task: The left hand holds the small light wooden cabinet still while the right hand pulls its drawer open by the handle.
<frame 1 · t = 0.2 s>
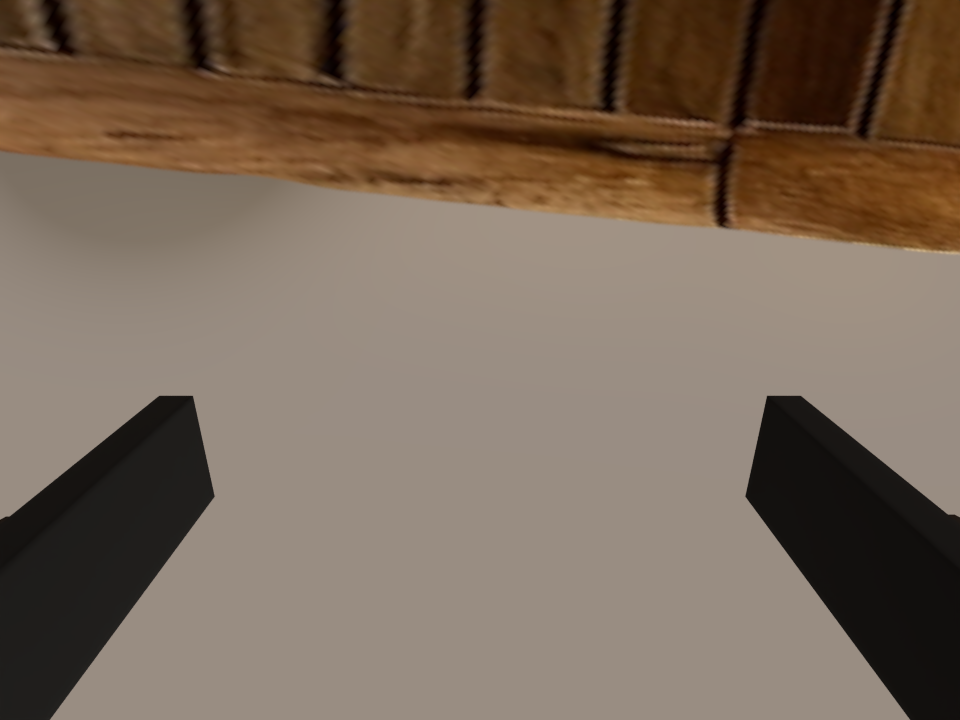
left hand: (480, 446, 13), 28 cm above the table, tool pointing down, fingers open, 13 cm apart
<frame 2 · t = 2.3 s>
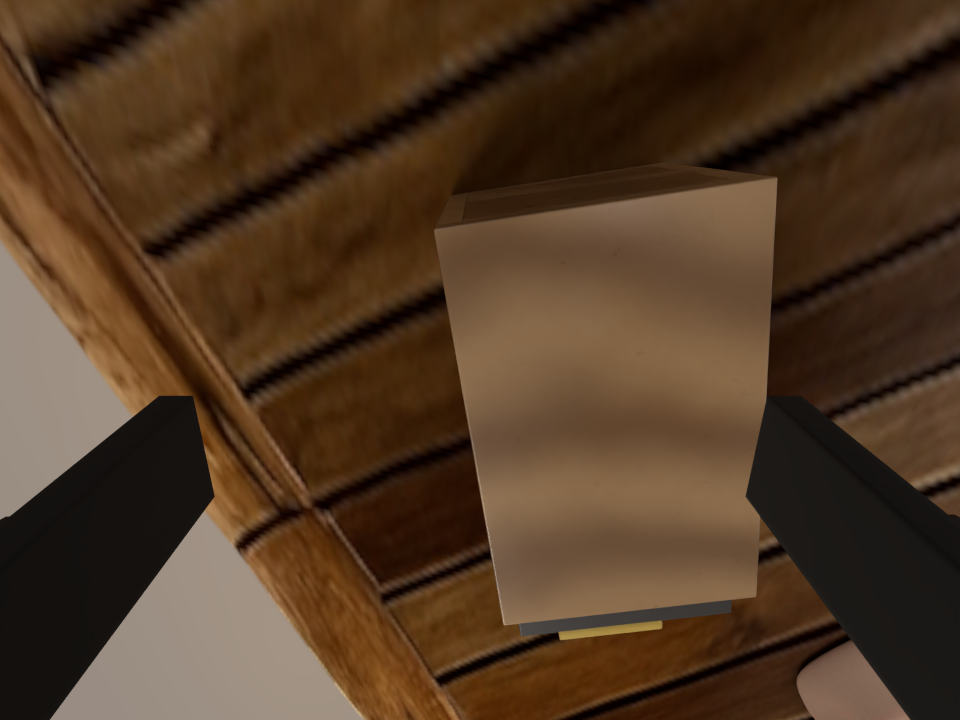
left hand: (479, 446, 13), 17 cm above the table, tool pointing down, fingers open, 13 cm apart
drawer: (597, 475, 27), point 6 cm above the table, slide at 0.6 cm
anatomical model: (888, 681, 40), on the table
cabinet: (570, 337, 30), on the table
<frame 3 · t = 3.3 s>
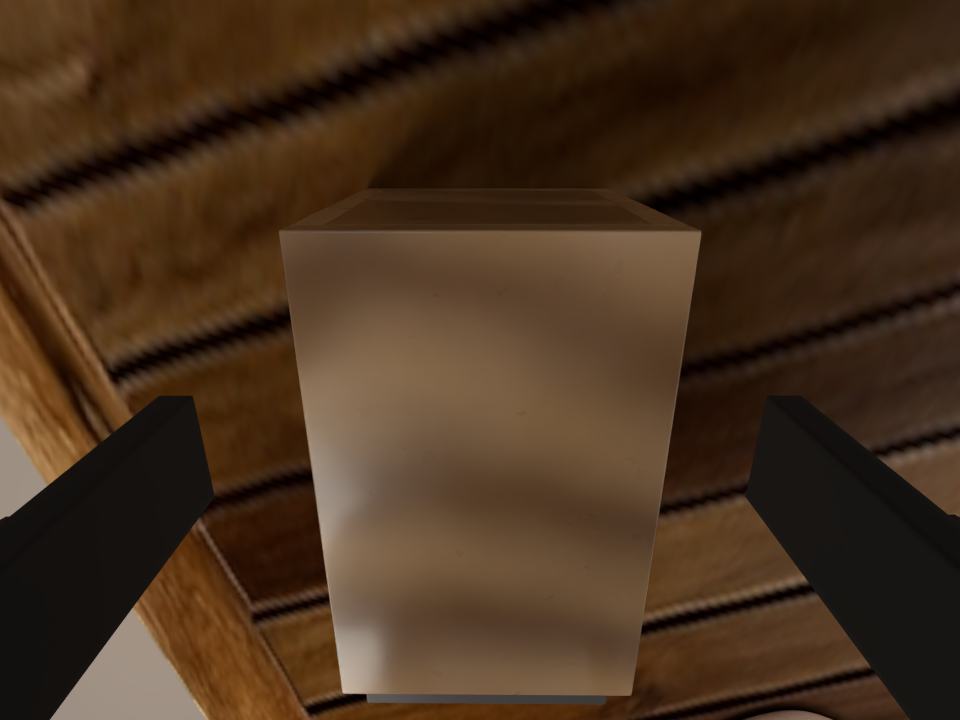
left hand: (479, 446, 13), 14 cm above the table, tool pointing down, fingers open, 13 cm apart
drawer: (486, 527, 24), point 6 cm above the table, slide at 0.6 cm
cabinet: (486, 366, 27), on the table
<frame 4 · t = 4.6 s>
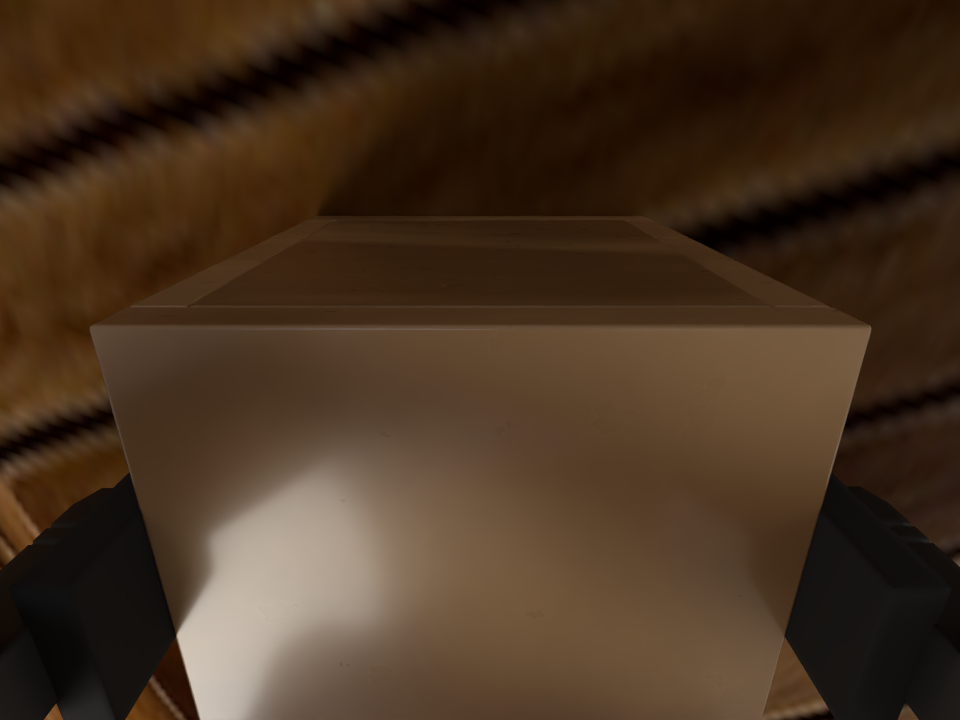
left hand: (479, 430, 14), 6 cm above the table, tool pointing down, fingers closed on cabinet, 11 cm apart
cabinet: (480, 444, 21), on the table, touching left hand
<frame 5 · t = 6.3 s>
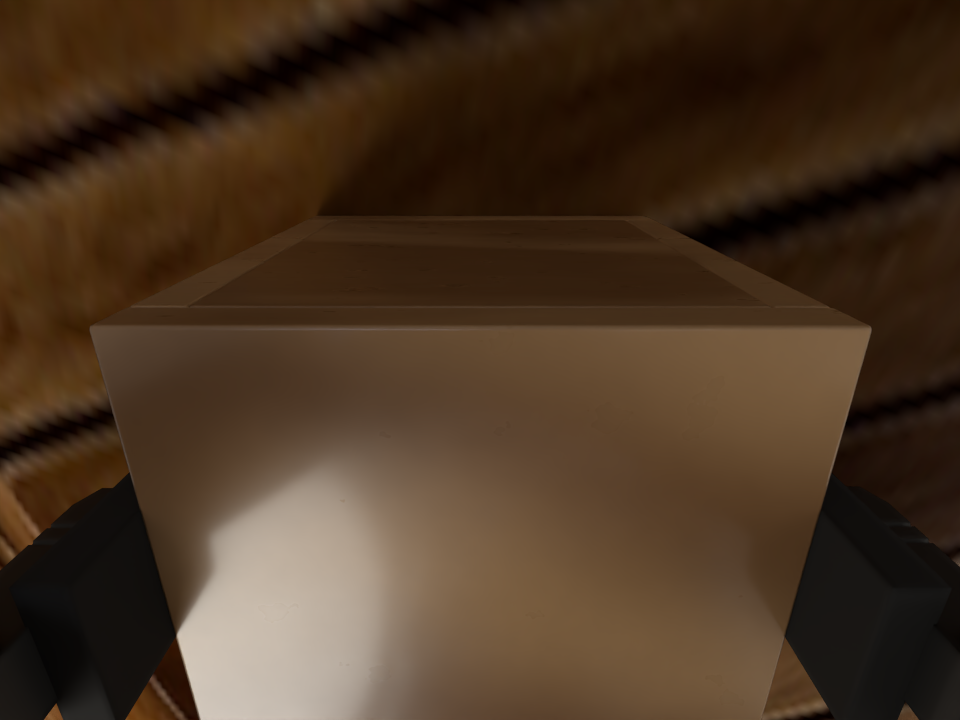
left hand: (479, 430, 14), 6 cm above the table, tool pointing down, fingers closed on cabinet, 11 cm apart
cabinet: (480, 444, 21), on the table, touching left hand
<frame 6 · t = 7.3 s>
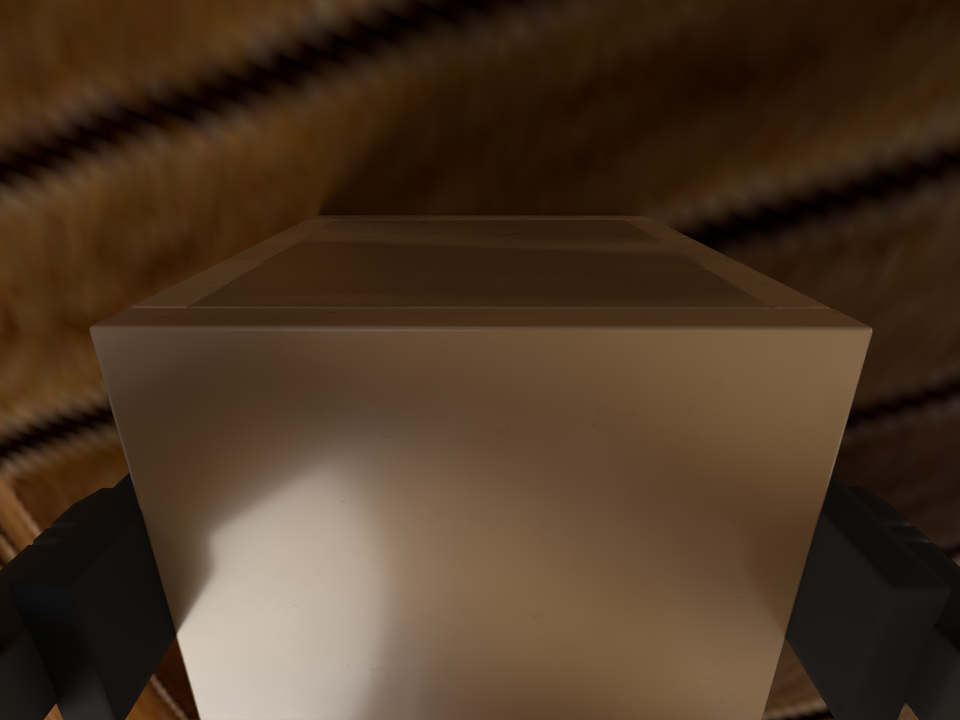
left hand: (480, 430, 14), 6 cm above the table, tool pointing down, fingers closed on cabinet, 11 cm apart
cabinet: (480, 443, 21), on the table, touching left hand
when the left hand's fingers open (6 cm above the table, at t = 9.1 s): cabinet stays where it is, on the table.
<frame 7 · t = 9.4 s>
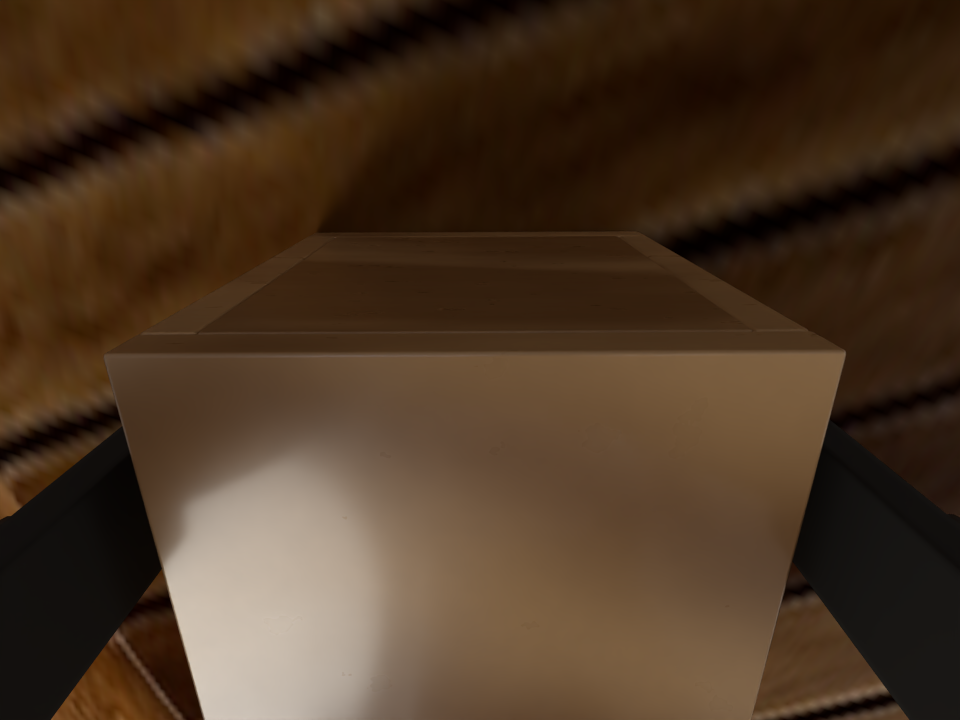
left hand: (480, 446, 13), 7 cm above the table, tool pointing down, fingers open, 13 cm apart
cabinet: (478, 453, 21), on the table
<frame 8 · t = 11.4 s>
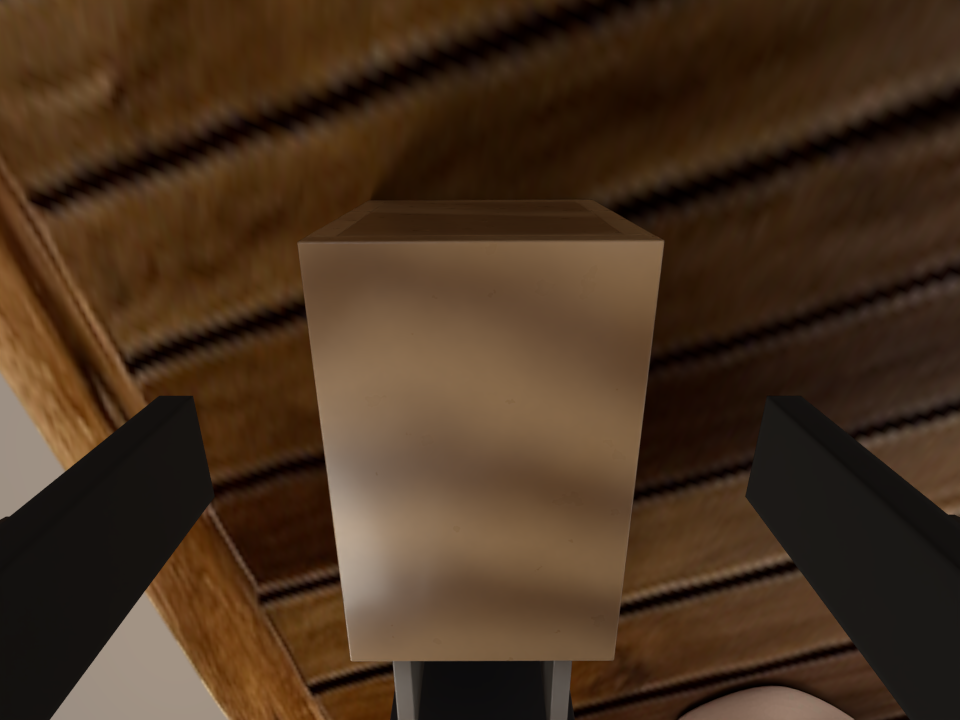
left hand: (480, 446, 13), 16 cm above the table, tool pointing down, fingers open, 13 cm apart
drawer: (482, 627, 29), point 6 cm above the table, slide at 8.0 cm
cabinet: (481, 363, 29), on the table
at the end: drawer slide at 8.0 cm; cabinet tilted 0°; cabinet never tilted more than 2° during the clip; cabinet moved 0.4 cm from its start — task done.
